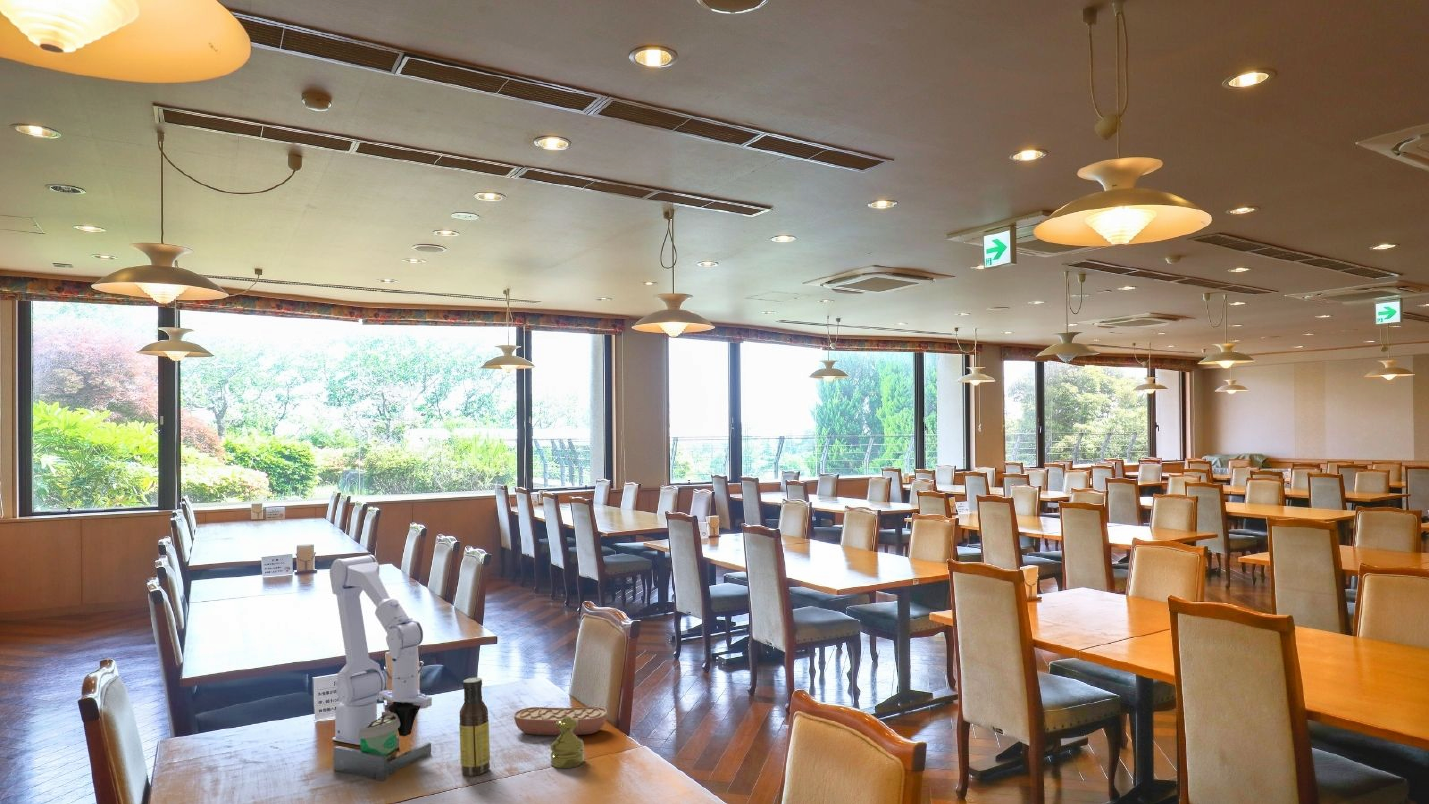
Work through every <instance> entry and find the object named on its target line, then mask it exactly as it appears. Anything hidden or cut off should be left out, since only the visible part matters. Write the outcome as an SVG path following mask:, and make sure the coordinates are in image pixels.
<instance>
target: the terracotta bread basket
mask: <svg viewBox="0 0 1429 804" xmlns="http://www.w3.org/2000/svg"><path fill="white" fill-rule="evenodd" d="M567 716H568V717H571V718H574V719H576V720H577V721H578V725H577V726H576V727H575V728H574V729H573V733H574V734H575V735H577V736H580V735H581V736H584V735H592V734H596V732H598V731H600V730H601V729H602V728H603V727H604V725H605V723H606V721H607V718H608V717H607V716H608V711H607V710H606V708H603V707H600V706H599V707H598V706H588V707H587V706H585V707H584V706H583V707H546V706H545V707H543V706H533V707H526V708H521V709H519V710H517V711H516V712H515V713H514V716H513V717H514V722H515V725H516V727H517V728H518V729H519V730H520V731H521V732H522V733H525V734H527V735H538V736H559V735H560V734H561V730H560V729H559V728H558V727H556V722H557V721H558V720H560V719H562V718H563V717H567Z"/></svg>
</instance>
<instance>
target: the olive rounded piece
mask: <svg viewBox="0 0 1429 804" xmlns="http://www.w3.org/2000/svg"><path fill="white" fill-rule="evenodd" d="M577 725H578V721H577V720H576V719H574V718H571V717H568V716H567V717H563V718H562V719H560V720H558V721H557V722H556V727H558V728H559V729H560V730H561V734H560V735H557V737H556V739H554V740H552V742H550V751H551V753H550V764H551V766H553V768H554V767H555V768H556V769H571V768H576V767H579V766H580V765H582V763H584V761H585V759H584V756H585V751H584V750H583V748H584V745H585V743H584V742H585V741H584V740H583V739H582V738H580V737H578V736H579V735H575V734H574V733H573V729H574V728H575V727H576V726H577Z"/></svg>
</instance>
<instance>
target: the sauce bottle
mask: <svg viewBox="0 0 1429 804" xmlns="http://www.w3.org/2000/svg"><path fill="white" fill-rule="evenodd" d="M482 686H483V678H481V677H468V678H466V679H464V680H463V681H462V687H463V691H464V693H463V696H464V698H463V700H464V701H463V703H462V704H463V705H462V706H461V707H460V710H459V725H458V726H459V747H460V748H459V749H460V751H459V752H460V753H459V754H460V764H461V773H462V774H463V775H464V776H467V777H472V776H479V775H483V774H484V773H486V772H488V771H489V769H490V768H491V767H490V766H491V764H490V760H491V754H490V753H491V751H490V746H491V745H490V721H489V709H488V706H487V705H486V704H485V702H484V701H483V695H482V688H483V687H482Z"/></svg>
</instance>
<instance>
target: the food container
mask: <svg viewBox="0 0 1429 804" xmlns="http://www.w3.org/2000/svg"><path fill="white" fill-rule="evenodd" d="M399 727H400V721H399V718H398V716H397V714H395V713H392V712H390V711H381V716H380V717H379V718H377V720H376V721H373V722H372V723H371V724H370V725H369V726H368V727H367V728H361V729H360V732H359V739H360V742H361V745H360V750H361V751H366V752H371V753H376V754H381V755H386V756H387V761H388V760H390V759H392V758H394V757H397V749H396V744H397V737H398V728H399Z"/></svg>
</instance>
